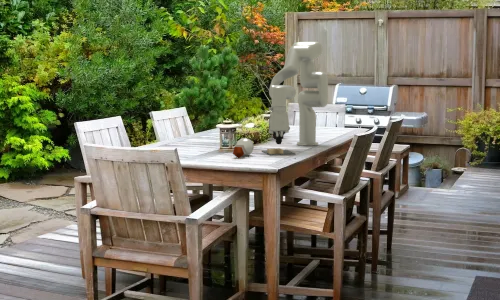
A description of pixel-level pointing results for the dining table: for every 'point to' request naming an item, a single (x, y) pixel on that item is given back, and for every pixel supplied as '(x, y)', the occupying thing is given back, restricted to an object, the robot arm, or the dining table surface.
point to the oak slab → (275, 151)
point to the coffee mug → (278, 134)
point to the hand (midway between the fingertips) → (278, 143)
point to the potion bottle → (243, 147)
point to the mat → (285, 152)
